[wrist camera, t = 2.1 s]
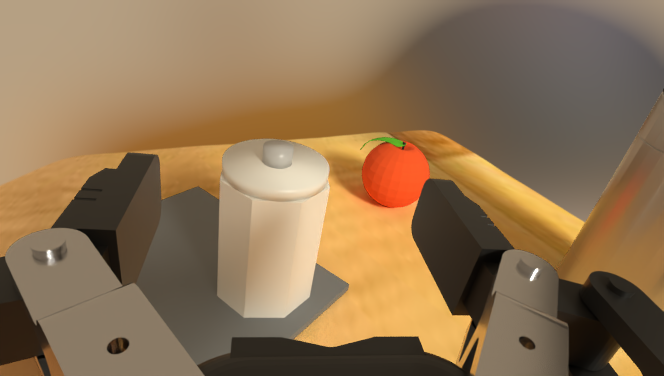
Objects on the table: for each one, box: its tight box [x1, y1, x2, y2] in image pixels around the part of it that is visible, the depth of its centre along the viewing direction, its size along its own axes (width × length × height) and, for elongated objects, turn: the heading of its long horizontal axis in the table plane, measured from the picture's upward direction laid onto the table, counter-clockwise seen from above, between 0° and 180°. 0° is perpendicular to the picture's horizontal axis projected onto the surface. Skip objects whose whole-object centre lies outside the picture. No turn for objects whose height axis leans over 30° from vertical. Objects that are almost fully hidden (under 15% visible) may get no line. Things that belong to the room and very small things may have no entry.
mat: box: [136, 187, 349, 365], centre depth 28 cm, size 17×18×1 cm
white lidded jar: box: [217, 139, 330, 318], centre depth 26 cm, size 6×6×11 cm
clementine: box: [360, 137, 430, 207], centre depth 42 cm, size 8×7×7 cm
